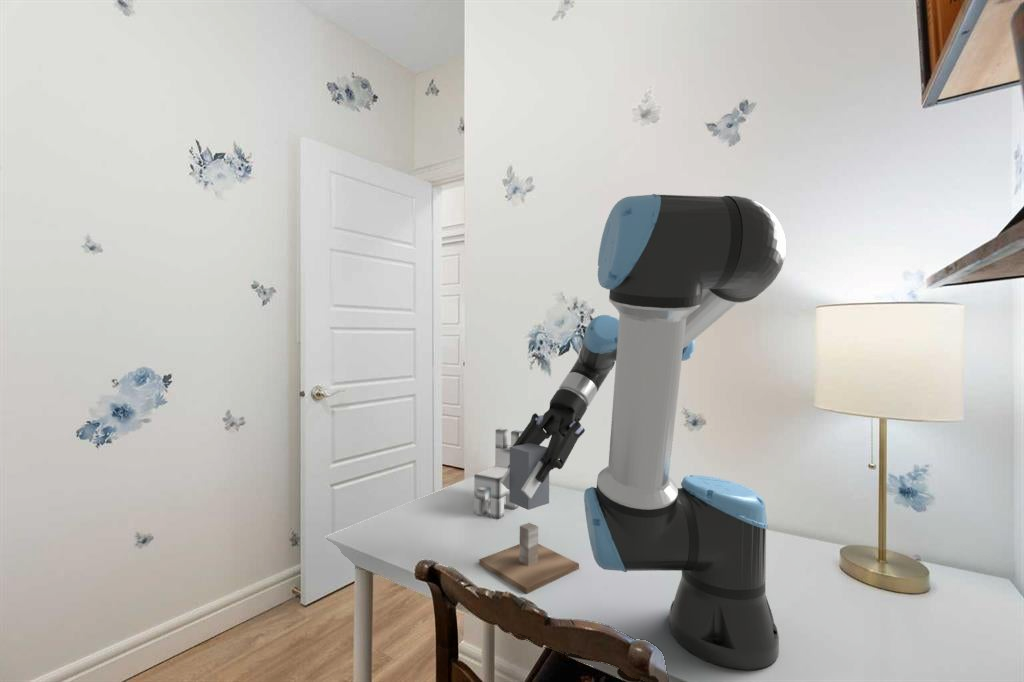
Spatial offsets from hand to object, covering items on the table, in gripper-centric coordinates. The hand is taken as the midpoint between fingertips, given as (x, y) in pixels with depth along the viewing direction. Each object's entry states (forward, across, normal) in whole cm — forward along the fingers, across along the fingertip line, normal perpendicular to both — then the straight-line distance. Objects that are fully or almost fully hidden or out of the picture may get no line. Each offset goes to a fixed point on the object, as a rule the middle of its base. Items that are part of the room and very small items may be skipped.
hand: (515, 489), depth 90 cm
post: (+9, 0, -14) cm, 16 cm away
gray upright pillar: (0, 0, -5) cm, 5 cm away
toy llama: (-2, +28, -25) cm, 37 cm away
